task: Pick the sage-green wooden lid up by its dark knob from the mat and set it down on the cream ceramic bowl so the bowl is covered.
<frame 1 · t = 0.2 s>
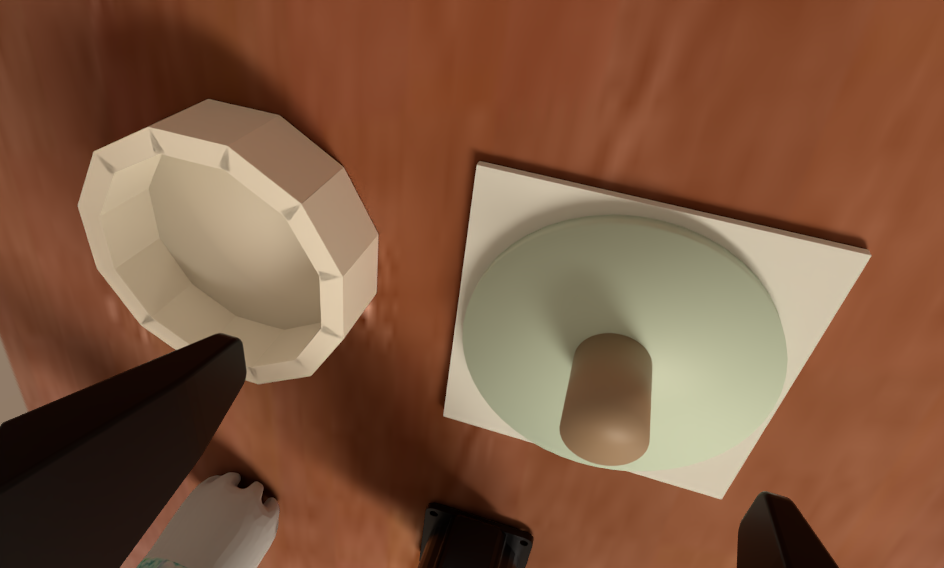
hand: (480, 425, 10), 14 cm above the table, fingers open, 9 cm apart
lid: (613, 351, 25), resting on mat
mat: (614, 346, 26), on the table
bottle: (249, 492, 41), on the table
bowl: (257, 232, 28), on the table
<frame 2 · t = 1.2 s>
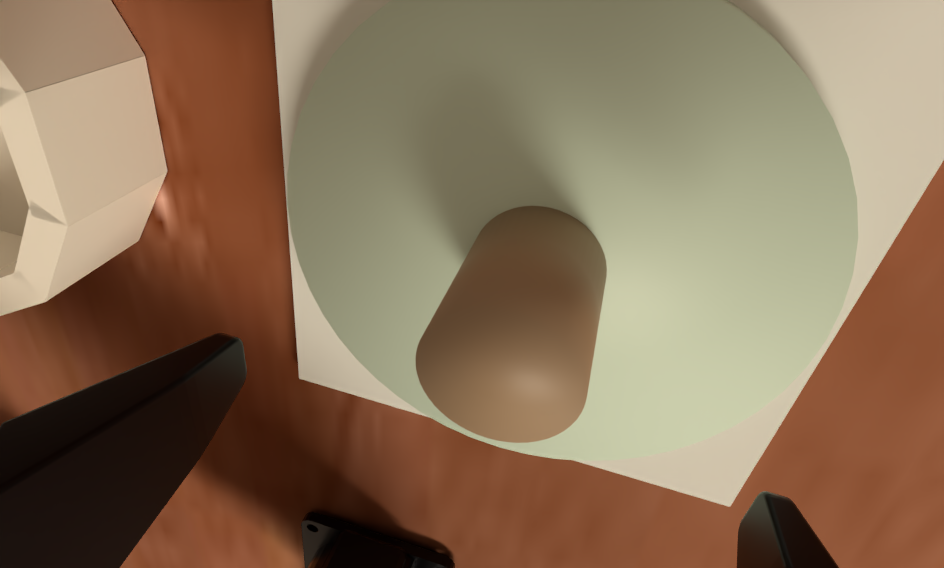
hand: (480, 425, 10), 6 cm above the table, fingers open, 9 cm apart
lid: (543, 251, 15), resting on mat
mat: (545, 243, 15), on the table
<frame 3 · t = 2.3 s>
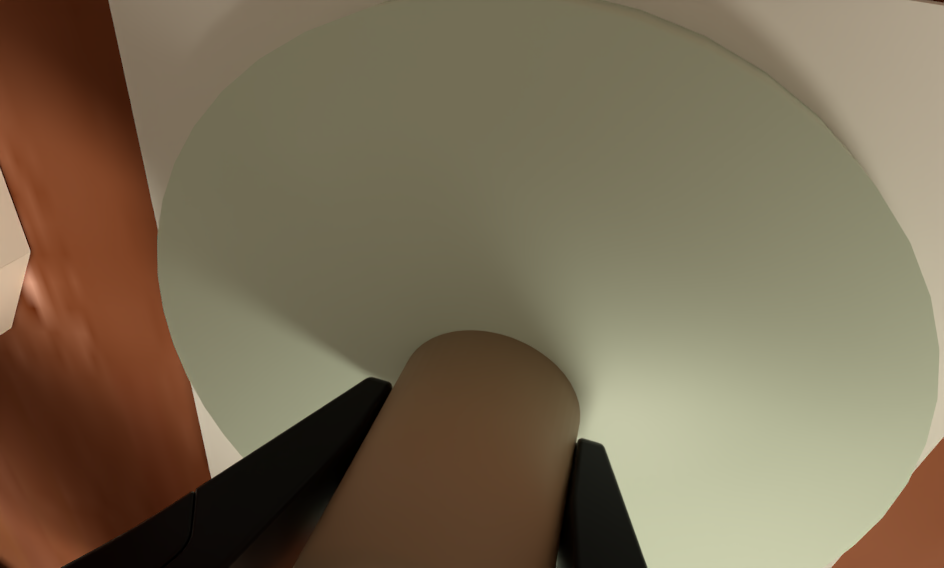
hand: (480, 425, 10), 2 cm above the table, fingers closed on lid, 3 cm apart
lid: (498, 374, 11), resting on mat, touching gripper
mat: (503, 361, 11), on the table
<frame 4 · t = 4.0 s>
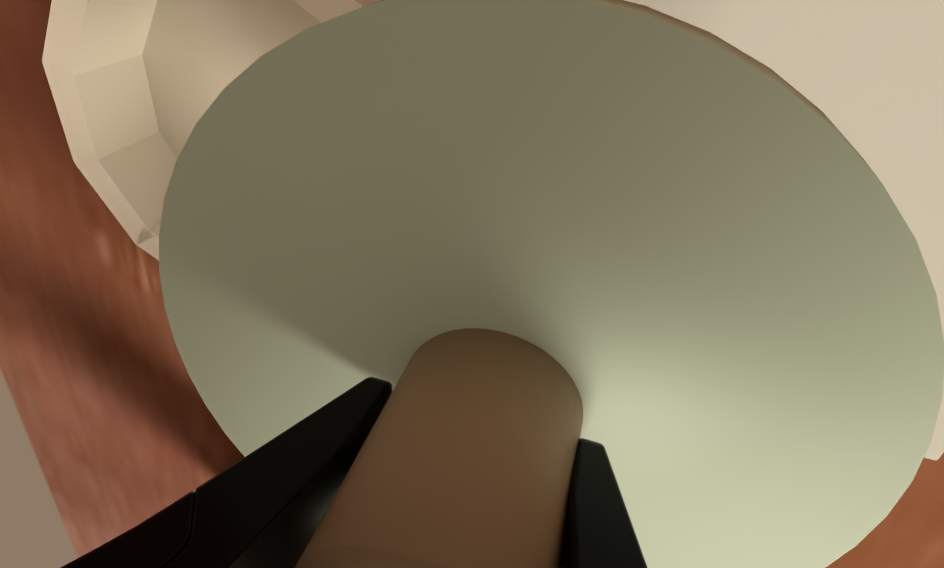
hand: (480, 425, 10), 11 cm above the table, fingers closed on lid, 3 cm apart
lid: (501, 372, 11), point 10 cm above the table, touching gripper
mat: (799, 237, 18), on the table
bowl: (289, 112, 20), on the table
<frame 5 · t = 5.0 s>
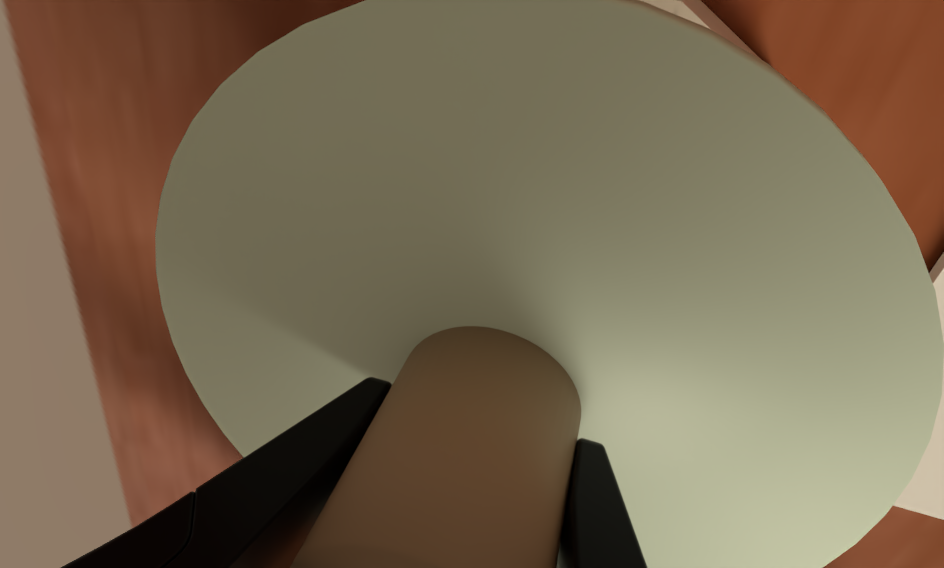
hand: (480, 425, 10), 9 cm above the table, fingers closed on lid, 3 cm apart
lid: (499, 371, 11), point 8 cm above the table, touching gripper
bowl: (558, 196, 17), on the table
when the fingers open (6 cm above the table, at t = 5.7 s): lid drops 1 cm, resting on bowl.
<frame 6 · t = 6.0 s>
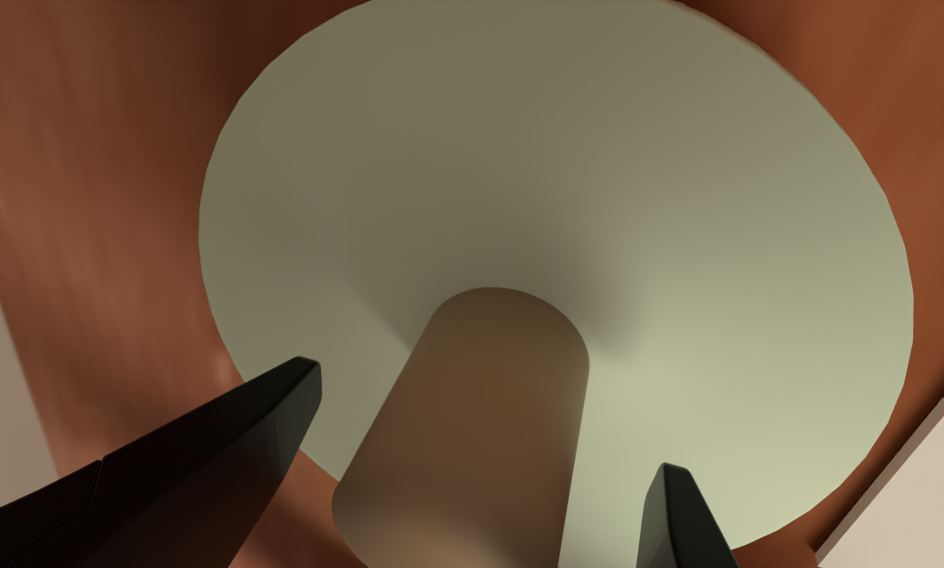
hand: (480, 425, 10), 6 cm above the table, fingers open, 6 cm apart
lid: (513, 332, 12), point 3 cm above the table, touching bowl
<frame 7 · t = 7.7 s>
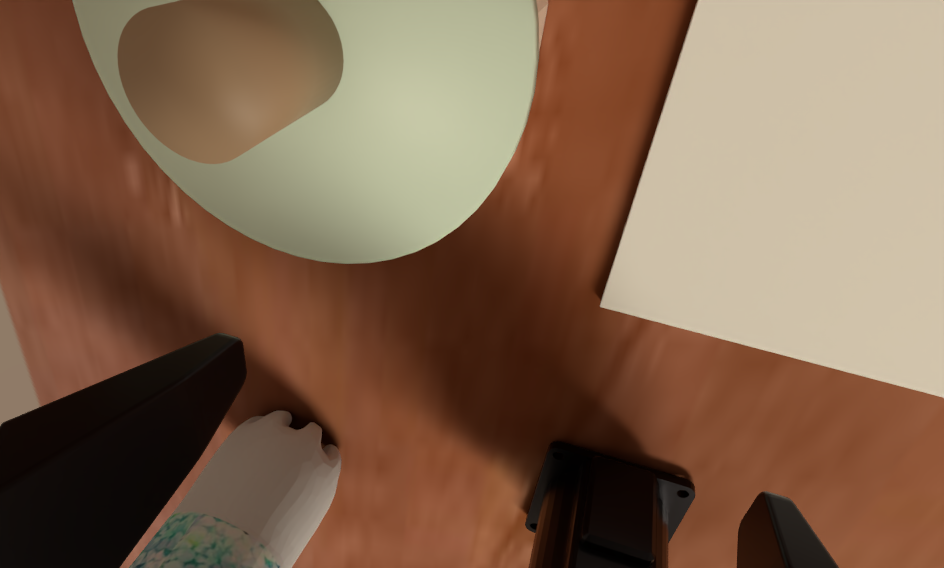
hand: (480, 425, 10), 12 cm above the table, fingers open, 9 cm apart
lid: (302, 42, 16), point 3 cm above the table, touching bowl
mat: (902, 171, 17), on the table
bottle: (300, 439, 32), on the table
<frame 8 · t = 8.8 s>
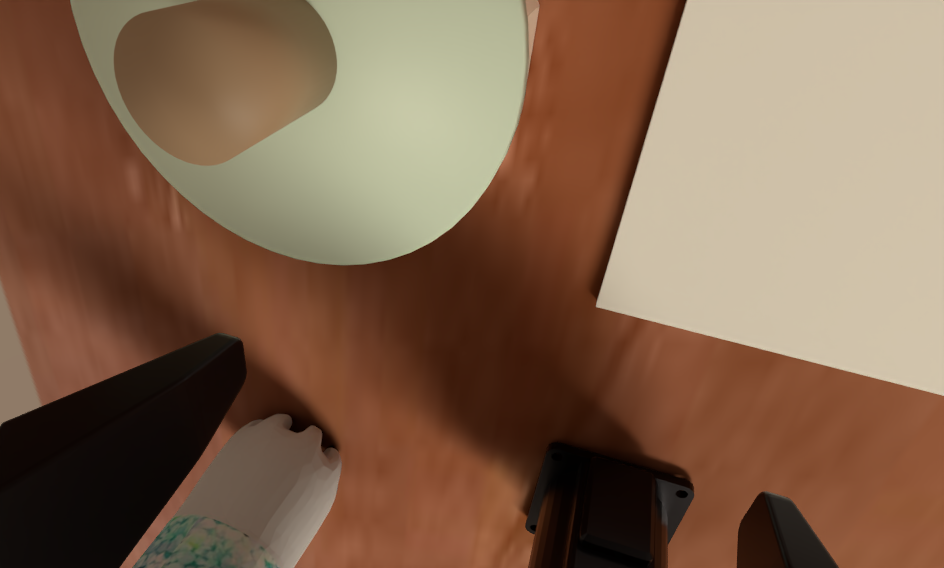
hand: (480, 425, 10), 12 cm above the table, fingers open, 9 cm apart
lid: (296, 46, 16), point 3 cm above the table, touching bowl
mat: (893, 168, 17), on the table
bottle: (301, 443, 32), on the table
bowl: (350, 26, 19), on the table
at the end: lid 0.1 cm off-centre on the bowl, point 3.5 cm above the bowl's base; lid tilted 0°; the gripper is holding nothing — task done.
